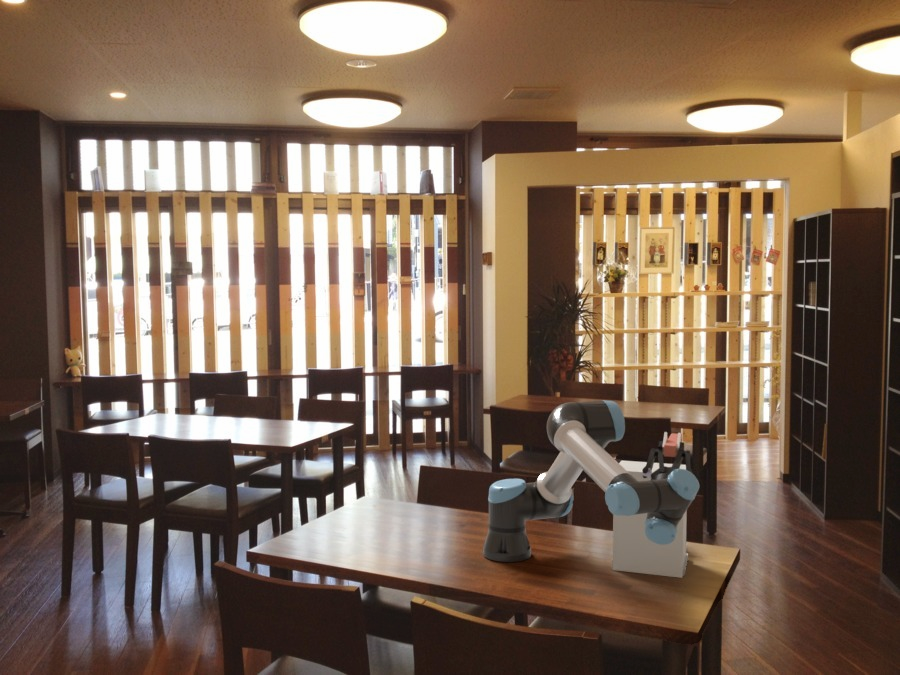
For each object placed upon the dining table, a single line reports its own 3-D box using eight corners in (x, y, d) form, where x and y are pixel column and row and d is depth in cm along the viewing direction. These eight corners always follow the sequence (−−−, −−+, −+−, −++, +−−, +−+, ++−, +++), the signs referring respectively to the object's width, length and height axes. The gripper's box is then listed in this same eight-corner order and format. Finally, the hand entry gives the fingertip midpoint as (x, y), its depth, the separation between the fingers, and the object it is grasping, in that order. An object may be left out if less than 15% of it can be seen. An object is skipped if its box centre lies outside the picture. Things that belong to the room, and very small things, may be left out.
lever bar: (675, 457, 217) (675, 446, 217) (664, 456, 218) (664, 445, 218) (681, 444, 238) (681, 433, 238) (671, 443, 239) (671, 433, 239)
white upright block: (684, 578, 232) (685, 475, 231) (610, 569, 239) (611, 470, 238) (688, 559, 249) (689, 463, 248) (619, 552, 256) (620, 459, 255)
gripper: (634, 501, 212) (644, 444, 230) (698, 506, 206) (702, 448, 225) (632, 479, 208) (642, 424, 227) (697, 484, 202) (702, 427, 221)
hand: (672, 436), depth 226 cm, fingers closed on lever bar, 3 cm apart
